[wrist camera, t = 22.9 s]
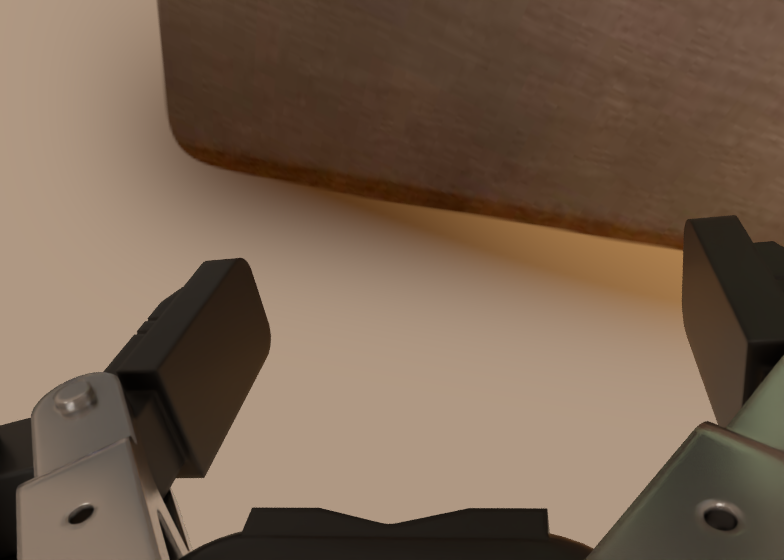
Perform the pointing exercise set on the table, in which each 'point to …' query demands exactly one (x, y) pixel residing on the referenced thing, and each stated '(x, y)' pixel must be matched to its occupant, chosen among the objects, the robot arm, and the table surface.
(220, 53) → the table surface
